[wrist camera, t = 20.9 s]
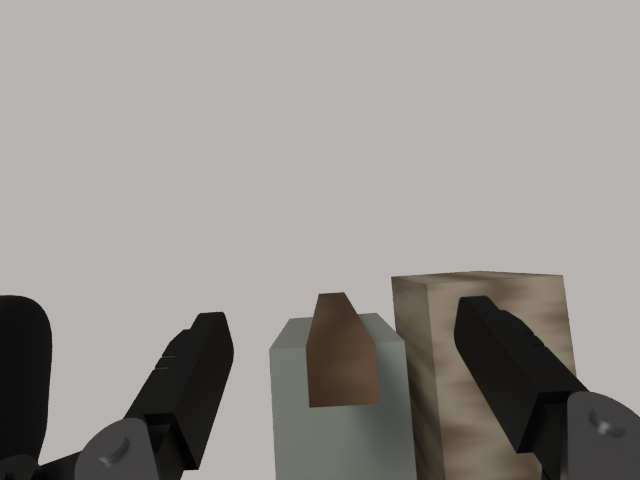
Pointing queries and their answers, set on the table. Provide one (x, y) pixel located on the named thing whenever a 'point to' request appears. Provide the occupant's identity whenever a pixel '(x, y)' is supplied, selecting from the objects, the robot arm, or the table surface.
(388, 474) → the low stand
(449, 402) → the tall stand
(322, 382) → the bar
